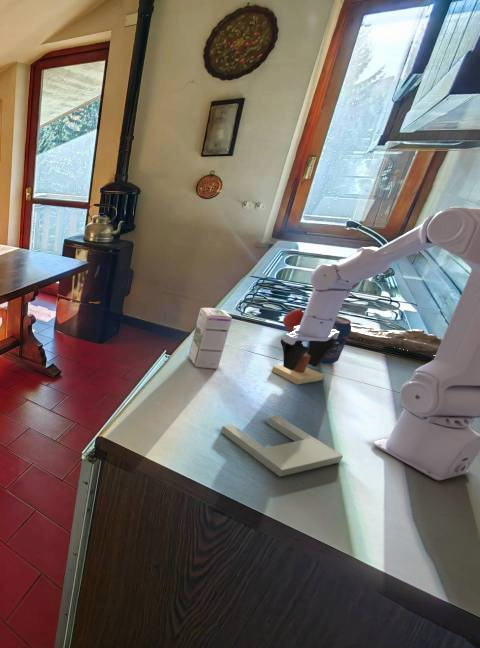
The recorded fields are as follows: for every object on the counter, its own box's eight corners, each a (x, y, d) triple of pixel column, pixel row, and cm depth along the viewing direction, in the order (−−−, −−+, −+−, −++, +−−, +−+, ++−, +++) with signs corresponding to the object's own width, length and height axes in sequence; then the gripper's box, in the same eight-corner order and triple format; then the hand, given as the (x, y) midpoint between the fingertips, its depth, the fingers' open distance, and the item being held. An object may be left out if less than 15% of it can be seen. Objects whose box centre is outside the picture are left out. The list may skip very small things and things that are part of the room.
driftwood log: (303, 325, 130) (300, 335, 124) (307, 310, 128) (304, 320, 122) (464, 353, 108) (471, 368, 102) (473, 336, 106) (481, 350, 100)
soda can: (318, 365, 102) (335, 324, 97) (296, 353, 108) (312, 313, 103) (343, 365, 102) (362, 324, 97) (320, 353, 108) (337, 313, 104)
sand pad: (321, 380, 95) (330, 358, 93) (296, 384, 93) (305, 362, 91) (295, 367, 101) (303, 346, 98) (271, 371, 99) (279, 350, 96)
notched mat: (339, 462, 69) (343, 455, 69) (279, 476, 66) (282, 470, 65) (275, 421, 80) (277, 415, 79) (220, 431, 76) (222, 425, 76)
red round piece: (275, 329, 123) (284, 306, 120) (286, 326, 126) (294, 303, 122) (296, 337, 118) (305, 312, 115) (306, 333, 121) (316, 310, 118)
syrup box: (218, 369, 99) (234, 317, 94) (193, 366, 100) (207, 314, 95) (210, 359, 104) (225, 308, 99) (186, 356, 105) (200, 306, 100)
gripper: (324, 307, 96) (305, 355, 101) (279, 312, 92) (261, 362, 98) (357, 317, 90) (334, 369, 95) (310, 323, 86) (289, 376, 91)
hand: (299, 366), depth 96 cm, fingers open, 7 cm apart
